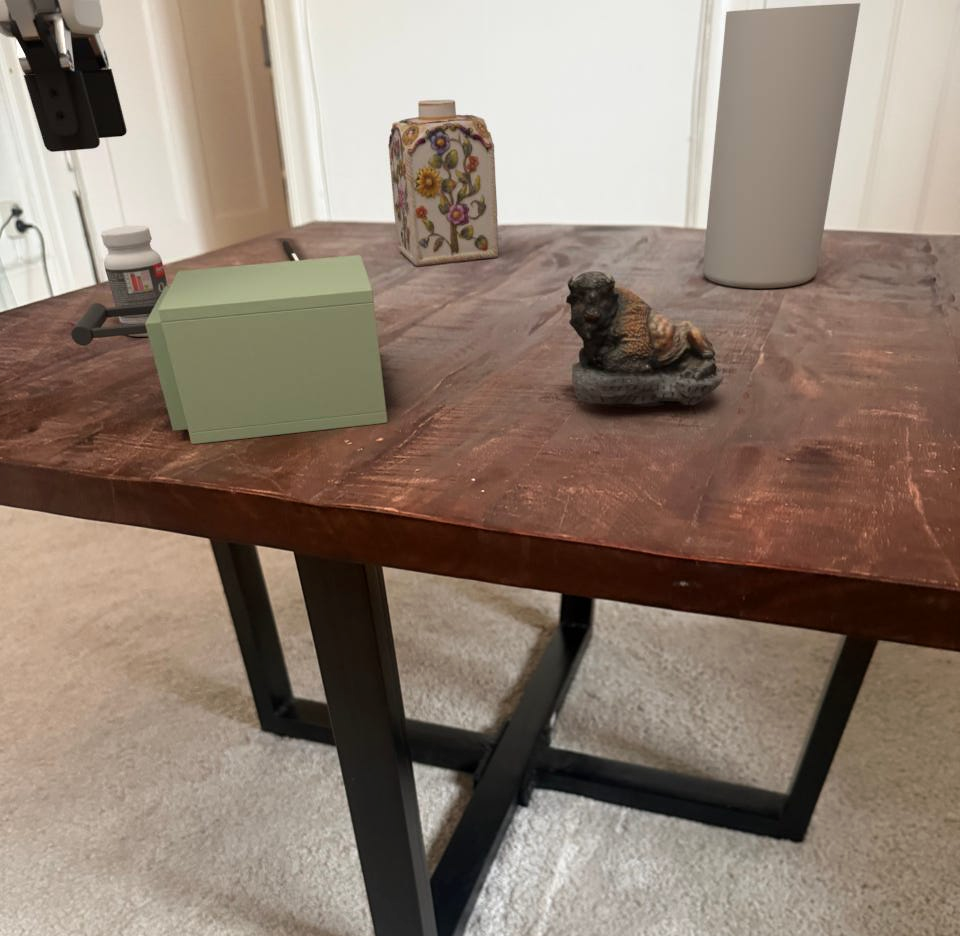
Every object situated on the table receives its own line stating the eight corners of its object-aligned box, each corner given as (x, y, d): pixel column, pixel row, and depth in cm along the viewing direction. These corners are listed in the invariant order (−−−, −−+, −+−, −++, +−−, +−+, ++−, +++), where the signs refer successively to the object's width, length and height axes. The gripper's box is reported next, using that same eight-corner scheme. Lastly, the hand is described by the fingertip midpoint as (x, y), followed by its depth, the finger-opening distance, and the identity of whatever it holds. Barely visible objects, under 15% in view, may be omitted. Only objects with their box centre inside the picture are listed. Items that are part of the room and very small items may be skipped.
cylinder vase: (736, 261, 107) (764, 10, 93) (835, 272, 99) (881, 2, 85) (681, 281, 100) (702, 12, 85) (782, 295, 92) (824, 4, 78)
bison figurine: (703, 385, 70) (716, 252, 65) (734, 415, 65) (752, 272, 59) (557, 398, 70) (558, 264, 64) (576, 430, 64) (577, 285, 58)
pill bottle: (182, 332, 92) (158, 230, 86) (127, 341, 90) (98, 237, 84) (172, 320, 96) (148, 222, 91) (119, 329, 94) (91, 229, 89)
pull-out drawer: (94, 439, 64) (59, 330, 60) (119, 390, 74) (91, 292, 69) (354, 411, 67) (340, 304, 62) (346, 366, 76) (333, 271, 72)
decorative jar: (396, 251, 122) (382, 101, 112) (476, 243, 124) (469, 95, 114) (414, 268, 113) (400, 105, 102) (500, 258, 115) (495, 98, 105)
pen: (296, 270, 114) (294, 261, 113) (281, 245, 129) (280, 237, 129) (303, 270, 114) (301, 261, 114) (287, 245, 129) (286, 237, 129)
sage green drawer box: (191, 444, 65) (157, 309, 60) (205, 390, 76) (177, 270, 70) (387, 422, 67) (372, 289, 61) (374, 372, 77) (361, 254, 72)
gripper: (-28, -174, 55) (62, 137, 65) (-144, -253, 41) (-7, 161, 50) (95, -179, 56) (165, 129, 65) (22, -259, 42) (126, 150, 51)
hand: (90, 142), depth 58 cm, fingers open, 9 cm apart
